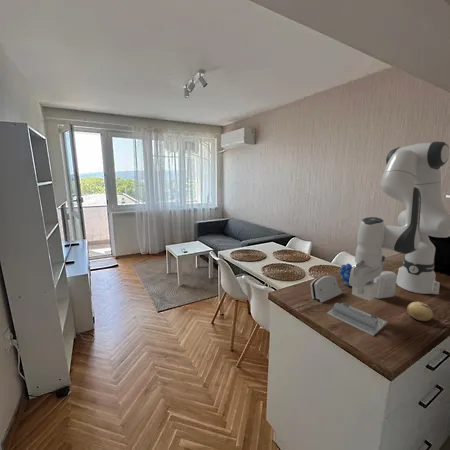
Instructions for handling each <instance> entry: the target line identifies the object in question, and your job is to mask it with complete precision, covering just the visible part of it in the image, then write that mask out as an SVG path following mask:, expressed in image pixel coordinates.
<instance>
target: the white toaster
mask: <svg viewBox="0 0 450 450" xmlns="http://www.w3.org/2000/svg"><path fill="white" fill-rule="evenodd" d="M309 287H310V293H311V299H313V300H314V299H316V300H319V302H320V303H324V302H326V301H328V300H331V299H333V298H335V297H337V296H340V295H342V294H343V291H342V289H341V288H340V286H339V283H338V280H337V277H336V276H335V275H321V276H319V277H316V278H314V279H313V280H312V281H311V283H310V286H309Z"/></svg>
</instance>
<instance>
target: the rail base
mask: <svg viewBox="0 0 450 450" xmlns="http://www.w3.org/2000/svg"><path fill="white" fill-rule="evenodd" d="M327 315H329V316H331V317H333V318H335V319H337V320H339V321H341V322H344V323H346V324H347V325H350V326H352V327H353V328H356V329H358V330H360V331H362V332H363V333H367V334H368V335H371V336H373V337H374V336H375V335H377V334H378V333H379V332H380V331H381V330H382V329H383V328H384V327H385V326H386V325H388V323H389V322H388V321H387V320H385V319H382V318H380V317H378V315H377V314H375V313H372V314H370V313H367V312H365V311H363V310H360V309H358V308H356V307H353V306H351V305H350V303H348V302H342V303H340V302H336V303H334V304H333V308H332V309H330V310H329V311H327Z"/></svg>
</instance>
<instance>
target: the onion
mask: <svg viewBox="0 0 450 450" xmlns="http://www.w3.org/2000/svg"><path fill="white" fill-rule="evenodd" d="M428 304H429V303H428V302H427V303H423V302H421V301H413V302H410V303H409V304H408V305H407V306H406V311H407V314H408V315H409V317H411V318H413V319H415V320H417V321H420V322H428V321H430V320H431V319H432V318H433V316H434V313H433V310H432V309H431V307H430V306H429V305H428Z"/></svg>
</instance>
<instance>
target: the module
mask: <svg viewBox="0 0 450 450" xmlns="http://www.w3.org/2000/svg"><path fill="white" fill-rule="evenodd" d="M351 287H352V289H351V295H353V296H355V297H358V298H360V299H364V300H365V301H369V302H371V301H372V300H373V299H376V298H375V296H376V288H377V283H374V281H373V282H371V281H370V282H368V283H366V284H365V285H364V286H363V289H364V293H363V294H358V293H357V288H356V287H353V286H351Z"/></svg>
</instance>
